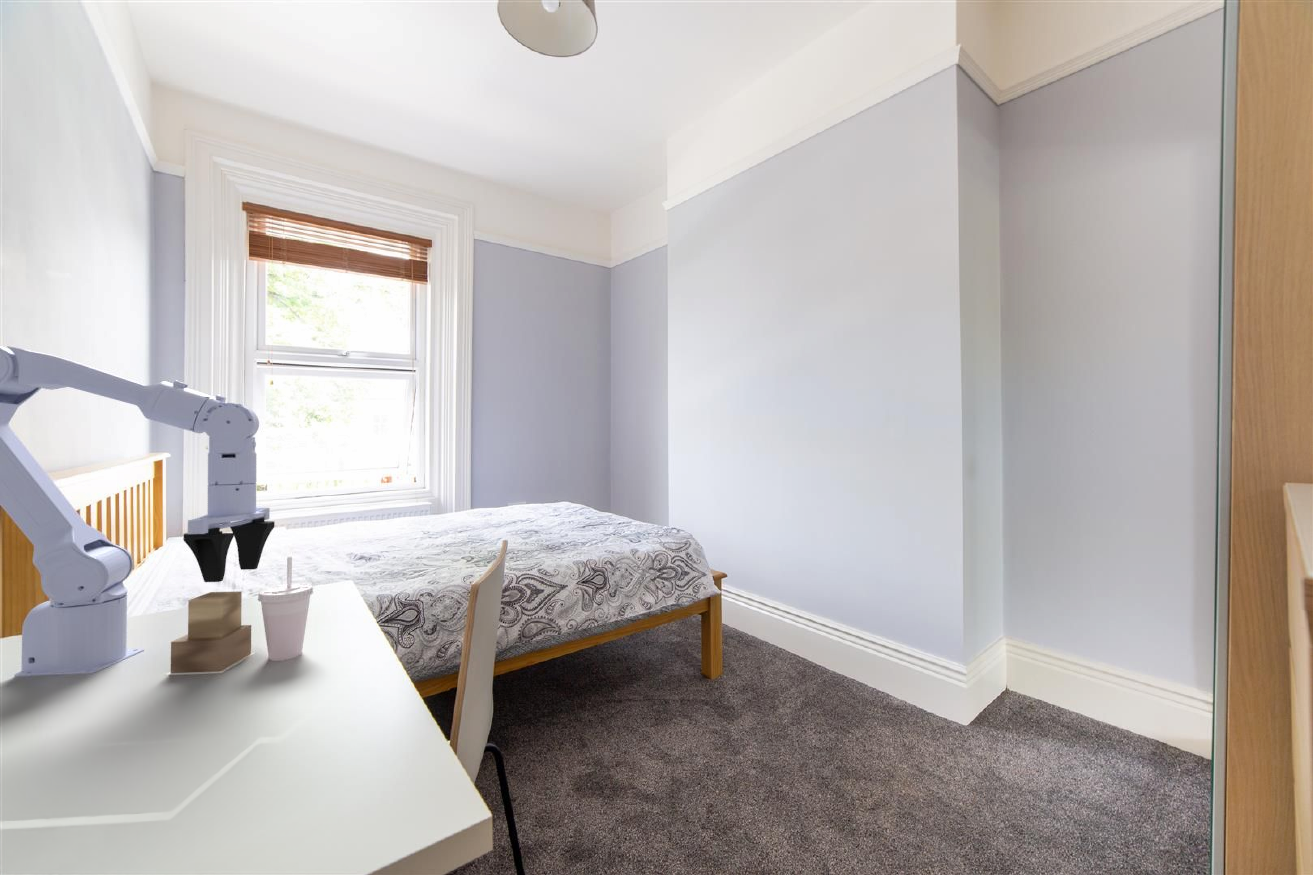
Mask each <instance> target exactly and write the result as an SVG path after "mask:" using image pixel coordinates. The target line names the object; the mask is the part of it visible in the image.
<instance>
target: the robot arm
mask: <svg viewBox="0 0 1313 875" xmlns="http://www.w3.org/2000/svg"><path fill="white" fill-rule="evenodd" d="M188 386H189V385H188V384H187V383H185V382H183V381H179V380H174V381H173V383H171V382H169V381H165V380H164V381H160V382H156V383H153V384H148V385H146V384H142V383H140V382H137V381H134V380H131V379H128V378H125V377H122V376H119V375H116V374H114V373H113V374H112V373H110V372H106V371H104V370H102V369H98V368H95V367H92V366H89V365H86V364H83V363H81V362H80V363H79V362H77V361H74V360H71V359H69V358H68V359H67V358H64V357H60V356H58V355H52V354H48V353H43V352H38V351H34V350H29V349H24V348H18V347H13V346H6V347H5V346H2V345H1V346H0V507H1V508H2V509H3V510H4V511H5V512H6V514H7V515H8V516H9V517H10V519H11V520H12V521H13V522H14V523H15V524H16V526H17V527H18V528H19V529H20V530H21V532H22V533H23V534H24V535H25V537H26V538H27V539H28V540H29V541H30V543H31V544H32V546H33V554H32V564H33V565H34V567H35V568H36V569H37V570H38V572H39V575H40V585H41V589H42V592H43V593H44V594H45V595H46V597H47V598H49V599H50V600H46V601H44V602H42V603H39V604H38V605H36V606H35V607H33V608H32V609H31V610H29V612H28V613H27V615H26V616H25V619H24V621H23V623H22V626H21V627H22V629H21V666H20V667H21V671H19V672H16V673H14V678H16V677H32V676H52V675H53V676H56V675H57V676H59V675H81V674H84V675H85V674H94V673H97V672H100V671H103V670H104V669H106V668H108V667H111V666H113V665H115V664H118V663H120V662H122V661H124V660H126V659H129V658H131V657H133V656H136V655H139V654H140V653H142V652H144V651H145V649H144V648H127V633H128V632H127V628H128V626H127V625H128V621H127V620H128V589H127V588H126V587H125V585H124V583H123V582H124V581H125V580H126V579H128V577H129V576H131V574H132V571H133V569H134V566H135V565H134V558H133V556H132V554H131V553H130V552H129V551H128V550H127V549H126V548H124V547H122V546H120V545H117V544H114V542H112V541H110V540H109V539H108V538H107V536H106V535H105V534H104V533H103V532H102V531H99V529H97V528H95V527H93V526H90V525H89V524H88V523H87V522H85V520H84V519H83V518H82V517H81V515H80V514H79V513H78V512H77V510H76V509H75V508H74V506H73V505H72V504H71V502H70V501H69V500H68V499H67V498H66V496H65V495H64V494H63V493H62V491H61V490H60V489H59V487H58V486H57V484H55V482H54V480H53V479H51V477H50V476H49V475H48V473H47V472H46V471H45V469H43V467H42V466H41V464H39V462H38V461H37V460H36V458H35V457H34V456H33V454H32V453H31V452H30V450H28V448H27V447H26V446H25V445H24V443H23V442H22V441H21V440H20V439H19V437H18V436H17V433H16V434H15V432H14V431H13V429H12V428H11V427H10V426H9V425H10V421H11V420H12V418H13V417H14V415H15V413H16V411H17V410H18V409H19V407H20V406H22V405H23V404H24V403H26V402H27V401H28V400H29V399H30V398H32V397H33V396H34V395H35V394H37V393H38V392H39V391H40V390H41V389H45V390H49V391H50V390H51V391H52V390H58V389H59V390H60V389H63V388H72V389H75V390H80V391H82V392H86V393H90V394H93V395H97V396H101V397H104V398H108V399H112V400H116V401H119V402H123V403H126V404H130V405H134V406H136V407H138V409H139V410H140V411H141V414H142V415H143V416H144V418H146V419H147V420H150V421H153V422H154V421H155V422H158V423H161V424H165V425H167V426H172V427H176V428H178V429H182V430H186V431H188V432H193V433H196V434H203V433H205V434H207V436H208V444H209V445H208V446H209V447H208V453H207V514H206V515H202V516H200V517H197V518H196V517H195V518H193V519H192V518H191V519H188V520H187V532H185V533H183V538H182V539H183V540H182V541H183V542H184V543H185V544H186V545H187V546H188V548H189V549H190V550H191V552H192V553H193V555H194V558H195V559H196V561H197V565H198V567H199V569H200V573H201V576H202V578H203V582H204V583H219V582H222V581H223V580H224V577H225V573H226V566H227V556H228V552H229V548H230V546H231V543H232V541H233V539H235V542H236V546H237V547H236V548H237V555H238V556H237V558H238V565H239V567H240V570H242V571H244V570H245V571H246V570H247V571H248V570H257V569H258V567H259V565H260V561H261V557H262V553H263V550H264V547H265V545H266V541H267V540H268V538H269V537H270V534H271V532H272V531H273V530H274V528H275V526H276V525H275V520H273V521H271V520H270V507H257V453H256V446H257V442H256V437H255V435H256V434H257V432H258V431H259V427H260V420H259V418H258V415H257V414H256V413H255V412H254V411H253V410H252V409H251V408H249V407H247V406H244V405H243V404H241V403H234V402H233V403H232V402H227V403H226V400H227V398H226V397H225V396H222V395H220V394H217V395H215V396H212V395H209V394H206V393H203V392H200V391H197V390H194V389H190V388H188ZM269 520H270V521H269ZM227 528H230V530H231V532H223V531H222V530H221V529H227Z"/></svg>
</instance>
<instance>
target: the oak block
mask: <svg viewBox="0 0 1313 875" xmlns="http://www.w3.org/2000/svg"><path fill="white" fill-rule="evenodd" d="M242 592H243V591H242V590H241V591H237V590H236V591H212V592H208V593H207V592H206V593H205V594H202V595H200V596H196V597H193V598H190V599H189V600H188V601H187V602H188V604H187V605H188V606H187V607H188V608H187V609H188V610H187V613H188V614H187V615H188V616H187V617H188V621H187V635H188V639H198V638H221V637H223V636H225V635H227V634H229V633H231V632H233V631H235V630H237V629H239V628H241V625H242V596H243V595H242Z"/></svg>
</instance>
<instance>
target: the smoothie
mask: <svg viewBox="0 0 1313 875" xmlns="http://www.w3.org/2000/svg"><path fill="white" fill-rule="evenodd" d="M286 558H287V559H286V561H287V562H286V584H280V585H275V586H269V587H267V588H264V589H262V590H260V591H258V598H257V601H258V602H260V604H261V614H262V620H263V625H264V627H263V628H264V633H265V634H264V635H265V639H266V649H267V655H268V660H270V661H273V662H275V661H276V662H280V661H286V660H291V659H294V658H297V657H299V656H300V655H302V653H303V646H304V640H305V635H306V634H305V633H306V626H307V619H308V613H309V606H310V601H311V600H310V598H311V596H312V594H313V593H314V586H313V584H310V583H293V574H292V573H293V566H292V565H293V564H292V563H293V556H287V557H286Z"/></svg>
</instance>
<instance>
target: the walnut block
mask: <svg viewBox="0 0 1313 875" xmlns="http://www.w3.org/2000/svg"><path fill="white" fill-rule="evenodd" d="M251 653H252V625H251V624H248V625H247V624H244V625H243V624H241V628H239V629H237V630H235V631H233V632H231V633H229V634H227V635H225V636H223V637H221V638H198V639H188V634H186V635H185V634H184V636H181V637H179V638H177V639H174V640H172V641H171V642H170V672H171V673H190V672H219V671H222V670H224V669H226V668H227V667H229V666H231V665H232V664H234V663H236V662H238V661H239V660H241V659H243V658H244V657H246V656H248V655H250V654H251Z"/></svg>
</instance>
